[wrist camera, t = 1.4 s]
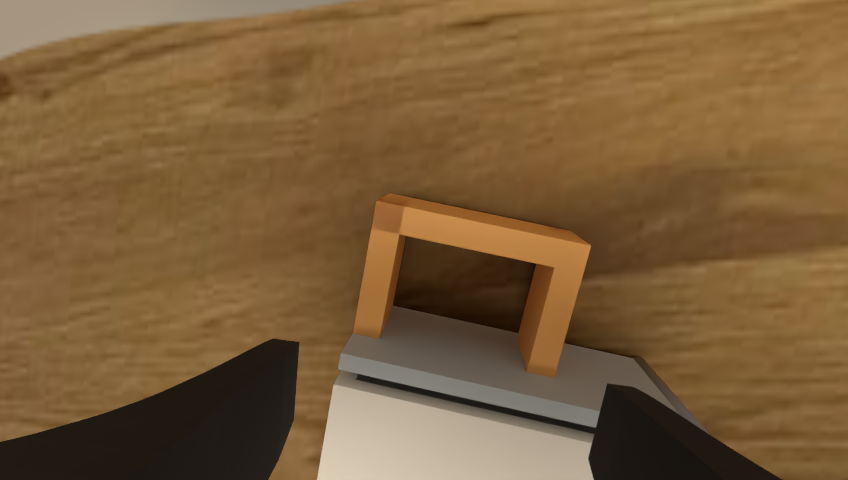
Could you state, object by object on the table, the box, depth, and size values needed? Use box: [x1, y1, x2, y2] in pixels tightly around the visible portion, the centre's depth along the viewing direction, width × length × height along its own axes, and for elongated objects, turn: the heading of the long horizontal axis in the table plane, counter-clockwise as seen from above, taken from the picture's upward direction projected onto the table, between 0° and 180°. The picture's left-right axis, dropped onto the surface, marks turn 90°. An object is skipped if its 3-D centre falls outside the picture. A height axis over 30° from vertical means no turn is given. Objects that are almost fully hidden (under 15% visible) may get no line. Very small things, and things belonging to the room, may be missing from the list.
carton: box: [317, 370, 596, 480], centre depth 18 cm, size 12×8×6 cm, turn 79°
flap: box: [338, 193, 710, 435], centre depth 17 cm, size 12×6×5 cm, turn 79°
